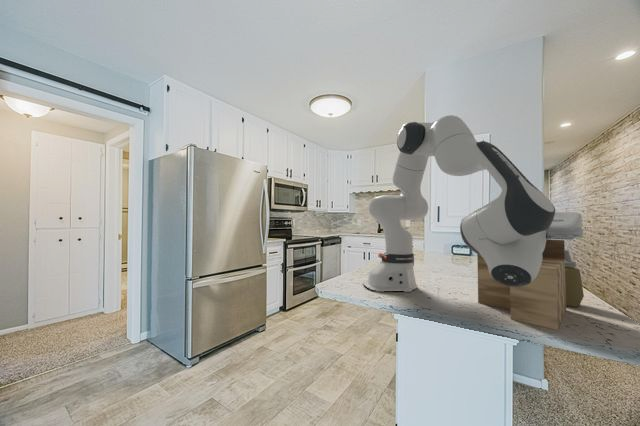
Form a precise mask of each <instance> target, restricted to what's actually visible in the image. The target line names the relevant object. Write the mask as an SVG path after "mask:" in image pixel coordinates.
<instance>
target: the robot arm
mask: <svg viewBox="0 0 640 426" xmlns="http://www.w3.org/2000/svg"><path fill="white" fill-rule="evenodd" d="M396 145H397V148H398V150H399V153H398V157H397V160H396V164H395V168H394V172H393V175H392V183H393V185H394V186H395V187H396V188H397V189H399V190H400V193H399V194H396V195H395V194H392V195H391V194H388V195H387V194H384V195H379V196H374V197H373V198H372V199H371V201H370V203H369V206H368V209H369V213H370V217H372V219H374V220H375V221H376V222H377V223H378V224H379V225H380V227H381V229H382V231H383V234H384V241H385V252H384V253H381V252H378V254H377V257H378V258H380V259H381V261H380V262H379V263H377V264H376V265H375V266H374V267H372V268H371V269H370V270H369V272H368V277H367V280H363V283H362V285H363V284H364V285H365V286H366V287H367V288H369V289H371V290H377V291H376V292H384V291H404V292H403V293H411V292H412V291H413V290H416V289H417V288H418V285H417V282H416V281H417V280H416V277H415V271H414V270H415V269H414V268H415V267H414V266H415V253H414V252H413V245H414V244H413V241H414V240H413V235H412V233H411V232H410V231H409V230H407V229H404V228H403V226H402V224H401V221H416V220H417V221H418V220H420V219H424V218H425V217H426V216H427V214H428V211H429V204H428V201H427V200H426V198H425V197H424V196H423V195H422V192H421V188H422V187H421V185H422V181H423V178H424V173H425V171H426V167H427V163H428V161H429V159H430V158H429V157H434V158H435V161H436V164H437V166H438V167H439V169H440V171H441V172H443V173H445V174H446V175H450V176H454V177H463V176H469V175H473V174H475V173H478V172H481V171H485V170H487V172H488V173H489V175H490V176H491V178H492V179H494V180H495V182H496V183H497V185H498V186H499V187H500V188H501V192H500V194H499V195H498V197H496V198H495V199H493V200H492V201H490V202H488V203H487V204H485V205H483V206H482V207H480V208H477V209H476V210H474V211H473V212H471V213H470V214H468V215H466V216H465V217H463V218H462V219H461V221H460V224H459V225H460V226H459V227H460V228H459V230H460V236H461V239H462V241H463V243H464V245H465V246H467V248H469V249H470V250H471V251H472V252H473V253H475V254H478V255H480V256H481V257H483V258H484V260H485V262H486V263H487V266H488V269H489V273H490V275H491V276H492V277H493V278H494V279H495V280H496V281H497V282H499V283H501V284H504V285H507V286H513V287H518V286H524V285H527V284H530V283H531V282H532V281H533V280H534V279H535V278H536V276H537V275H538V273H539V270H540V267H541V263H542V258H543V256H542V253H543V251H544V249H545V245H546V240H547V239H549V240H573V239H577V238H581V237H582V236H584V229H583V215H582V214H581V213H579V212H576V211H569V212H568V211H567V212H561V211H560V212H557V211H556V208H555V206H554V203H553V202H552V201H551V200H550V199H549V197H547V196H546V195H545V194H544V193H543V192H541V190H539V189H538V188H537V187H536V186H535V185H534V184H533V183H532V182H531V181H530V180H529V179H528V178H527V177H526V176H525V175H524V174H523V173H522V171H520V170H519V168H518V167H517V166H516V165H515V164H514V163H513V162H512V161H511V160H510V158H508V156H507V155H505V153H504V152H502V151H501V150H500V149H499V148H498V147H497V146H495V145H494V144H492V143H491V142H488V141H486V140H485V141H484V140H481V141H477V139H476V138H475V136H474V134H473V132H472V130H471V129H470V127H468V125H467V124H466V123H465V121H463V119H462V118H460V117H459V116H457V115H453V114H452V115H449V114H448V115H445V116H442V117H440V118H438V120H436V121H435V122H434V121H433V122H417V121H413V122H407V123H404V124H403V125H402V126H401V127H400V129H399V131H398V133H397V137H396ZM365 282H366V283H365ZM367 288H366V289H367ZM371 290H370V291H371Z"/></svg>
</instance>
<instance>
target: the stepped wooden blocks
mask: <svg viewBox="0 0 640 426" xmlns="http://www.w3.org/2000/svg"><path fill="white" fill-rule="evenodd" d="M476 254H477V253H476ZM476 256H477V259H476V260H477V296H478V297H477V303H478V304H483V305H488V306H491V307H493V306H494V307H497V308H502V309H507V310H509V311H510V320H514V321H518V322H522V323H525V324H530V325H534V326H539V327H542V328H547V329H552V330H556V331H558V329H559V328H560V325H561V323H562V320H563V318H564V315H565V313H566V311H567V309H566V308H567V306H566V292H565V239H547V240H546V245H545V249H544V251H543V253H542V256H543V258H542V263H541V267H540V270H539V273H538V275H537V276H536V278H535V279H534V280H533V281H532V282H531V283H530V284H527V285H524V286H518V287H513V286H507V285H504V284H501V283H499V282H497V281H496V280H495V279H494V278H493V277H492V276H491V275H490V273H489V269H488V266H487V263H486V262H485V260H484V258H483V257H481V256H480V255H478V254H477V255H476Z"/></svg>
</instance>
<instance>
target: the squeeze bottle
mask: <svg viewBox="0 0 640 426" xmlns="http://www.w3.org/2000/svg"><path fill="white" fill-rule="evenodd" d="M576 267H577V262H575V261H572V258H571V255H570V251H569V250H567V249H566V250H565V292H566V307H572V308H573V307H575V308H577V307H580V305H581V304H582V302H583V299H584V296H585V295H584V289H583V283H582V276H581V271H580V269H578V268H576Z"/></svg>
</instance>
